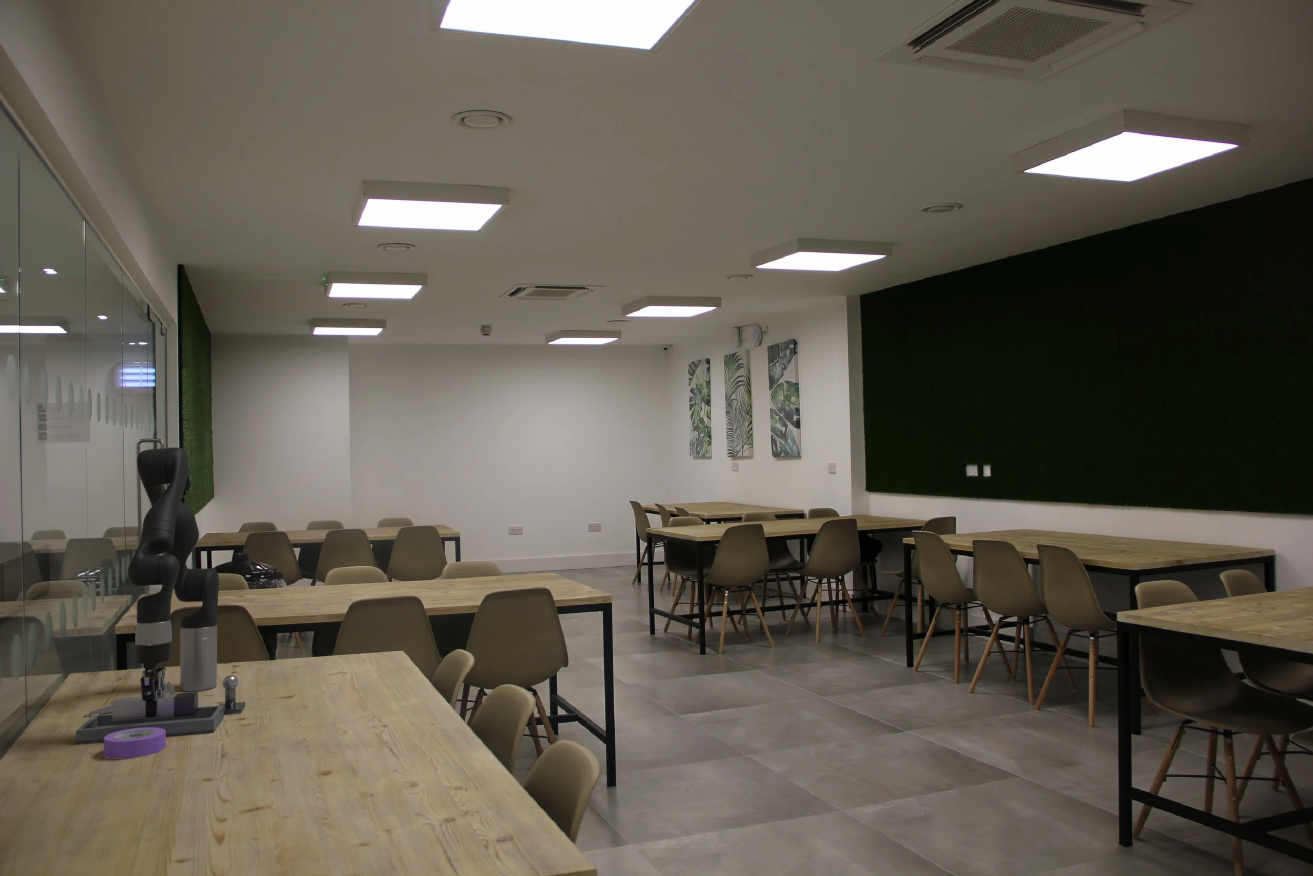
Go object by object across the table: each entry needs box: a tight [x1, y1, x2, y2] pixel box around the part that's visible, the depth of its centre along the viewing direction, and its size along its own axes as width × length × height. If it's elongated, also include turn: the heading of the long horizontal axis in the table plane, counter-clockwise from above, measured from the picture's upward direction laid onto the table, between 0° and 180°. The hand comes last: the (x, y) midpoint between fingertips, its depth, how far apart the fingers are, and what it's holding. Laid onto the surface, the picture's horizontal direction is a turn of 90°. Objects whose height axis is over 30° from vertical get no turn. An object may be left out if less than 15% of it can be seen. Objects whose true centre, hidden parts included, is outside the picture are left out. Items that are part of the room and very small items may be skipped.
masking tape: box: [103, 727, 167, 759], centre depth 201 cm, size 12×12×4 cm
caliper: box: [84, 680, 176, 716], centre depth 237 cm, size 20×1×6 cm, turn 129°
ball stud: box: [218, 674, 246, 715], centre depth 235 cm, size 8×6×9 cm
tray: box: [75, 704, 225, 745], centre depth 217 cm, size 14×28×3 cm, turn 107°
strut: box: [111, 691, 199, 721], centre depth 217 cm, size 4×17×4 cm, turn 107°
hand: (153, 714), depth 217 cm, fingers closed on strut, 3 cm apart
